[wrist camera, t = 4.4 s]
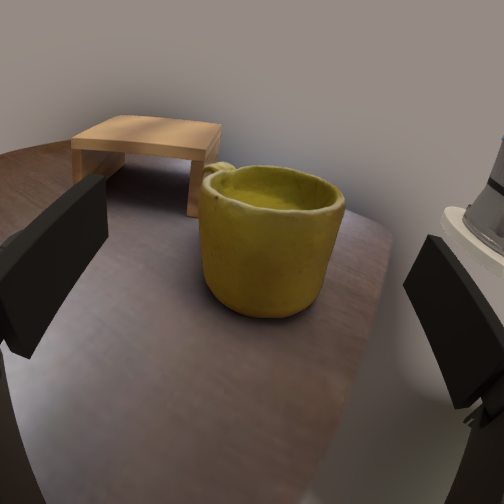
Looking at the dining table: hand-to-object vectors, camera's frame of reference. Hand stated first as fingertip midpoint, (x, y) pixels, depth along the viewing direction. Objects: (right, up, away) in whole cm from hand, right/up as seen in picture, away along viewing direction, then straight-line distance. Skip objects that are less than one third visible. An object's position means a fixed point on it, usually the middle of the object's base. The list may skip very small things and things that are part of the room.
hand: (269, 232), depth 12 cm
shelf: (-13, +7, +23) cm, 27 cm away
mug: (-1, -2, +13) cm, 14 cm away
